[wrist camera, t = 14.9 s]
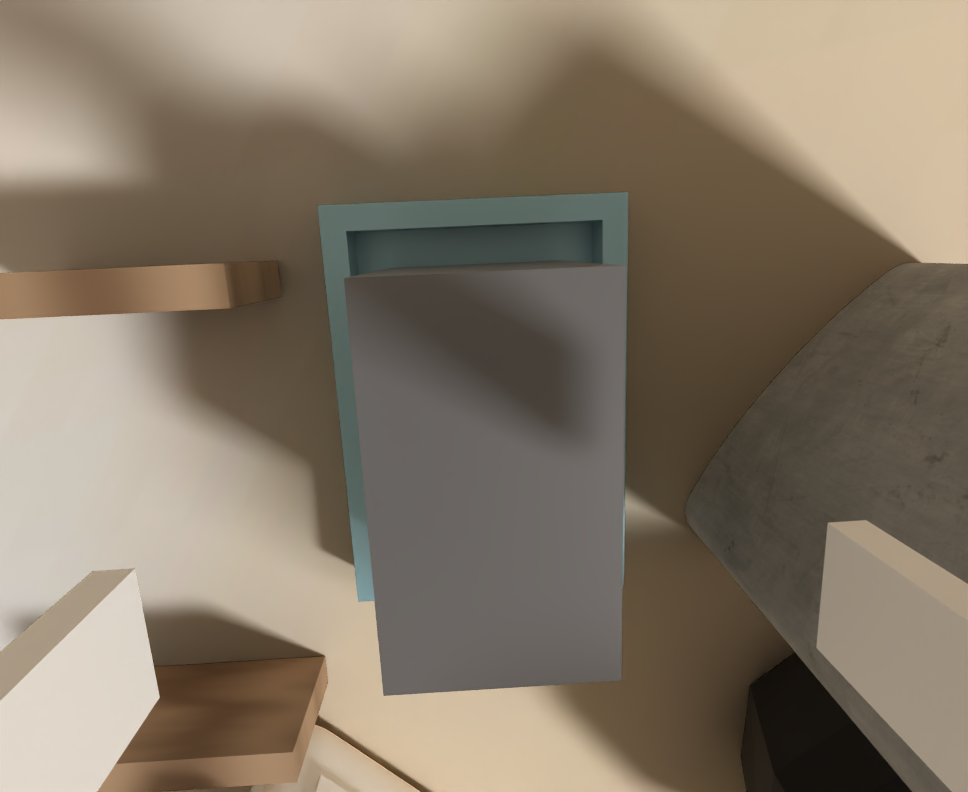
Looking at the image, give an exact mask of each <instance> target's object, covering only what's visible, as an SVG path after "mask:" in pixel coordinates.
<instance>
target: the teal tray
mask: <svg viewBox="0 0 968 792" xmlns="http://www.w3.org/2000/svg"><path fill="white" fill-rule="evenodd" d="M317 208H318V217H319V227H320V237H321V246H322V256H323V266H324V275H325V285H326V295H327V304H328V314H329V323H330V333H331V343H332V352H333V362H334V372H335V381H336V391H337V401H338V410H339V420H340V430H341V439H342V449H343V459H344V468H345V478H346V487H347V497H348V507H349V516H350V526H351V536H352V545H353V555H354V565H355V574H356V584H357V594H358V602H361V601H375V599H374V589H373V578H372V568H371V557H370V547H369V536H368V526H367V515H366V505H365V495H364V484H363V474H362V463H361V453H360V442H359V432H358V421H357V411H356V400H355V390H354V379H353V369H352V358H351V348H350V337H349V327H348V316H347V306H346V296H345V285H344V278H346V277H351V276H356V275H361V274H365V273H370V272H375V271H380V270H385V269H389V268H398V267H421V266H443V265H466V264H488V263H510V262H533V261H555V260H558V261H572V262H587V263H601V264H615V265H626V330H625V414H624V498H623V582H622V586H624V534H625V447H626V360H627V273H628V192H614V193H591V194H567V195H544V196H521V197H497V198H474V199H450V200H427V201H403V202H380V203H357V204H333V205H317Z"/></svg>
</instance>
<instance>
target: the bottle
mask: <svg viewBox="0 0 968 792" xmlns="http://www.w3.org/2000/svg"><path fill="white" fill-rule="evenodd" d="M741 761H742V767H743V773H744V780H745V786H746V792H912V791H911V790H910V789H909V787H908V786H907V785H906V784H905V783H904V781H903V780H902V779H901V778H900V777H899V775H898V774H897V773H896V772H895V771H894V769H893V768H892V767H891V766H890V765H889V764H888V762H887V761H886V760H885V759H884V758H883V756H882V755H881V754H880V753H879V752H878V750H877V749H876V748H875V747H874V746H873V744H872V743H871V742H870V741H869V740H868V738H867V737H866V736H865V735H864V734H863V733H862V731H861V730H860V729H859V728H858V727H857V725H856V724H855V723H854V722H853V721H852V719H851V718H850V717H849V716H848V715H847V713H846V712H845V711H844V710H843V709H842V707H841V706H840V705H839V704H838V703H837V702H836V700H835V699H834V698H833V697H832V696H831V694H830V693H829V692H828V691H827V690H826V688H825V687H824V686H823V685H822V684H821V682H820V681H819V680H818V679H817V678H816V676H815V675H814V674H813V673H812V672H811V671H810V669H809V668H808V667H807V666H806V665H805V663H804V662H803V661H802V660H801V659H800V657H799V656H798V655H797V654H796V653H794V654H792V655H791V656H790V657H788V658H787V659H786V660H784V661H783V662H782V663H780V664H779V665H778V666H776V667H775V668H774V669H772V670H771V671H770V672H768V673H767V674H766V675H764V676H763V677H762V678H760V679H759V680H758V681H756V682H755V683H754V684H752V685H751V686H750V689H749V697H748V705H747V712H746V720H745V728H744V736H743V743H742V751H741Z"/></svg>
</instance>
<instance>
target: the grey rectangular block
mask: <svg viewBox="0 0 968 792" xmlns="http://www.w3.org/2000/svg"><path fill="white" fill-rule="evenodd" d="M344 285H345V296H346V306H347V316H348V327H349V337H350V348H351V358H352V369H353V379H354V390H355V400H356V411H357V421H358V432H359V442H360V453H361V463H362V474H363V484H364V495H365V505H366V515H367V526H368V536H369V547H370V557H371V568H372V578H373V589H374V599H375V610H376V620H377V631H378V641H379V652H380V662H381V673H382V683H383V694H384V696H387V695H403V694H418V693H434V692H450V691H465V690H481V689H497V688H512V687H528V686H544V685H560V684H575V683H591V682H607V681H621V666H622V582H623V498H624V414H625V330H626V265H615V264H601V263H587V262H572V261H558V260H555V261H533V262H510V263H488V264H466V265H443V266H421V267H398V268H389V269H385V270H380V271H375V272H370V273H365V274H361V275H356V276H351V277H346V278H344Z"/></svg>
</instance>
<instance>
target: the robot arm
mask: <svg viewBox="0 0 968 792" xmlns="http://www.w3.org/2000/svg"><path fill="white" fill-rule="evenodd" d="M816 648H817V649H818V650H819V651H820V652H821V653H822V654H823V655H824V656H825V658H826V659H827V660H828V661H829V662H830V663H831V664H832V665H833V666H834V667H835V668H836V669H837V670H838V671H839V672H840V673H841V675H842V676H843V677H844V678H845V679H846V680H847V681H848V682H849V683H850V684H851V685H852V686H853V687H854V688H855V689H856V690H857V692H858V693H859V694H860V695H861V696H862V697H863V698H864V699H865V700H866V701H867V702H868V703H869V704H870V705H871V706H872V707H873V709H874V710H875V711H876V712H877V713H878V714H879V715H880V716H881V717H882V718H883V719H884V720H885V721H886V722H887V723H888V724H889V726H890V727H891V728H892V729H893V730H894V731H895V732H896V733H897V734H898V735H899V736H900V737H901V738H902V739H903V740H904V741H905V743H906V744H907V745H908V746H909V747H910V748H911V749H912V750H913V751H914V752H915V753H916V754H917V755H918V756H919V757H920V758H921V760H922V761H923V762H924V763H925V764H926V765H927V766H928V767H929V768H930V769H931V770H932V771H933V772H934V773H935V774H936V776H937V777H938V778H939V779H940V780H941V781H942V782H943V783H944V784H945V785H946V786H947V787H948V788H949V789H950V790H951V791H952V792H968V584H967V583H965V582H964V581H962V580H961V579H959V578H957V577H956V576H954V575H953V574H951V573H949V572H948V571H946V570H945V569H943V568H941V567H940V566H938V565H937V564H935V563H933V562H932V561H930V560H929V559H927V558H926V557H924V556H922V555H921V554H919V553H918V552H916V551H914V550H913V549H911V548H910V547H908V546H906V545H905V544H903V543H902V542H900V541H898V540H897V539H895V538H894V537H892V536H891V535H889V534H887V533H886V532H884V531H883V530H881V529H879V528H878V527H876V526H875V525H873V524H871V523H870V522H868V521H867V520H860V521H845V522H830V523H828V525H827V536H826V547H825V558H824V569H823V580H822V591H821V602H820V612H819V623H818V634H817V645H816ZM159 698H160V696H159V691H158V686H157V680H156V675H155V670H154V665H153V660H152V654H151V649H150V644H149V639H148V634H147V629H146V623H145V618H144V613H143V608H142V603H141V597H140V592H139V587H138V582H137V577H136V571H135V569H121V570H106V571H92V572H91V573H90V574H89V575H88V576H86V577H85V578H84V579H83V580H82V581H81V582H80V583H78V584H77V585H76V586H75V587H74V588H73V589H72V590H70V591H69V592H68V593H67V594H66V595H65V596H64V597H62V598H61V599H60V600H59V601H58V602H57V603H56V604H54V605H53V606H52V607H51V608H50V609H49V610H48V611H46V612H45V613H44V614H43V615H42V616H41V617H40V618H38V619H37V620H36V621H35V622H34V623H33V624H32V625H30V626H29V627H28V628H27V629H26V630H25V631H23V632H22V633H21V634H20V635H19V636H18V637H17V638H15V639H14V640H13V641H12V642H11V643H10V644H9V645H7V646H6V647H5V648H4V649H3V650H2V651H1V652H0V792H97V791H98V790H99V788H100V787H101V785H102V784H103V782H104V781H105V779H106V778H107V776H108V775H109V773H110V772H111V770H112V769H113V767H114V766H115V764H116V763H117V761H118V760H119V758H120V757H121V755H122V753H123V752H124V750H125V749H126V747H127V746H128V744H129V743H130V741H131V740H132V738H133V737H134V735H135V734H136V732H137V731H138V729H139V728H140V726H141V725H142V723H143V722H144V720H145V719H146V717H147V716H148V714H149V713H150V711H151V710H152V708H153V707H154V705H155V704H156V702H157V701H158V699H159Z"/></svg>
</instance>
